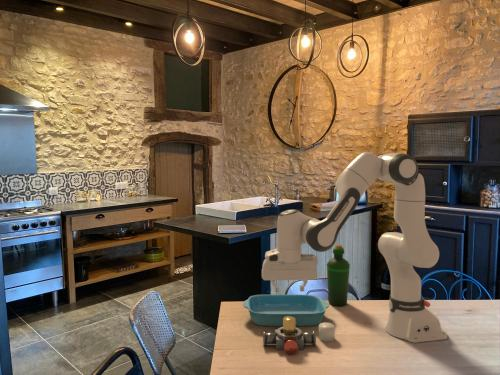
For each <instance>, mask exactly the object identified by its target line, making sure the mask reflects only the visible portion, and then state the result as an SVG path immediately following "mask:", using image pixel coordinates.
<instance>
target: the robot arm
mask: <svg viewBox="0 0 500 375" xmlns="http://www.w3.org/2000/svg"><path fill="white" fill-rule="evenodd" d="M375 180H377V181H380V182H386V183H392V184H393V186H394V199H393V200H394V203H393V205H394V206H393V219H394V222H395V223H396V224H397V225H398V226H399V227H400V230H401V232H402V233H401V232H397V231H393V232H391V231H390V232H389V231H388V232H384V233H383V234H381V236H380V237H379V239H378V242H377V249H378V251H379V253H380V254H381V255H382V256H383V258H384V260H385V262H386V265H387V268H388V270H389V275H390V294H389V301H388V307H389V309H388V310H389V315H388V318H387V324H386V326H385V331H386V332H387V333H388V334H389V335H391V336H393V337H396V338H398V339H402V340H405V341H408V342H410V343H412V344H413V343H423V342H424V343H425V342H431V341H441V340H442V341H443V340H447V339H448V334H447V332H446V330H445V329H444V328H443V327H442V326H441V321H440V320H439V318H438V317H437V315H435V314H434V313H433V312H431V311H430V310H429V309H428V308H430V307H431V303H430V302H429V301H428V300H425V299H424V298H423V297H421V296H422V280H421V277H420V276H419V275H420V274H418V273H417V272H416V270H415V269H414V267H416V268H425V269H426V268H427V269H431V268H432V267H434V266H435V265H436V264H437V263H438V262H439V261H438V260H439V258H440V250H439V248H438V245H436V243H435V242H434V241H433V239H432V238H431V236H430V234H429V232H428V229H427V225H426V219H425V218H426V217H425V213H426V212H425V210H426V185H425V179H424V176H423V175H422V174H421V173H420V172H419V166H418V163H417V161H416V159H415V158H414V157H413V156H412V155H410V154H407V153H403V152H402V153H398V152H389V153H380V154H377V155H376V154H375V153H374V152H371V151H370V152H369V151H364V152H362V153H360V154H359V155H358V156H357V157H355V158H354V159H353V160H352V161H351V162H350V163H349V164H348V165H347V166H346V168H344V170H342V172H341V173H340V174H339V176H338V178H337V179H336V181H335V190H336V192H337V195H338V198H337V201H336V203H335V205H334V206H333V207H332V209H331V210H330V212H329V213H328V214H327V215H326V216H325V218H324V219H322V220H320V219H318V218H314V217H311V216H309V215H306V214H304V213H303V212H300V210H298V209H287V210H284V211H282V212H280V213H279V214H278V217H277V224H276V236H277V244H276V248H273V249H270V250H267V251H265V254H264V258H265V259H264V260H263V262H262V268H261V279H263V281H271V284H272V286H273V288H274V292H279V285H276V281H302V284H301V285H299V292H305V287H306V286H307V284H308V281H309V280H310V281H315V280H317V278H318V270H317V265H318V263H319V262H318V257H317V256H316V255H315V254H314V253H309V254H308V253H307V254H306V253H302V245H303V244H306V245H308V246H309V247H311V249H312V250H314V251H315V252H319V253H323V252H327V251H329V250H330V249H333V248H334V246H335V245H336V242H337V239H338V237H339V233H340V231H341V229H342V228H343V226H344V225H345V223H346V222H347V221H348V220H349V218H350V216H351V215H352V214H353V213H354V211H355V209H356V208H357V206H358V204H359V202H360V200H361V198H362V196H363V195H364V194H365V192H366V191H367V190H368V189H369V188H370V186H371V185H372V184H373V183H374V182H375Z"/></svg>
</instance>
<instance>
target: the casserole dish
mask: <svg viewBox="0 0 500 375" xmlns="http://www.w3.org/2000/svg"><path fill="white" fill-rule="evenodd" d="M329 304H330V303H329V302H328V301H326V300H324V299H322V298H321V297H319V296H318V295H317V296H316V295H312V294H255V295H250V296H249V297H248V299H246V300H244V301H243V303H242V305H243V307H244V308H245V309H247V310H248V313H249V316H250V318H251V321H252V322H253V323H254V324H255V325H257V326H262V327H283V318H284V317H287V316H291V317H294V318H295V319H296V327H311V326H317V325H319V324H320V323H322V321H323V319H324V316H325V314H326V309H328V308H329V307H330V305H329Z"/></svg>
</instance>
